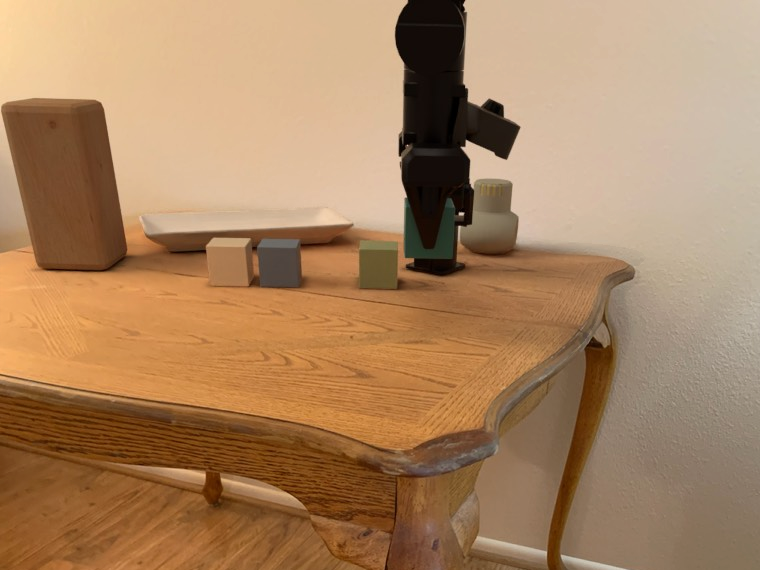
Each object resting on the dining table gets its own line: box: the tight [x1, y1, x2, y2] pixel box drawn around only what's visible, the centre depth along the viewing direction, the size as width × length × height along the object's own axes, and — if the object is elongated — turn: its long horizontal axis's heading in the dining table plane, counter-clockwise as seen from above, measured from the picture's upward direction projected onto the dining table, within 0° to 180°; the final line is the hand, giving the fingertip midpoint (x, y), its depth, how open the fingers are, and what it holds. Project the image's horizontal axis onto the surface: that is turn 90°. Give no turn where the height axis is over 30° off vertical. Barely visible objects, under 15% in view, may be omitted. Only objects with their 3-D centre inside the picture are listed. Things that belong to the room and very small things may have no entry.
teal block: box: [403, 197, 455, 259], centre depth 80 cm, size 5×5×5 cm
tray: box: [138, 206, 355, 253], centre depth 122 cm, size 17×31×4 cm, turn 110°
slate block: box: [256, 239, 303, 288], centre depth 101 cm, size 5×5×5 cm
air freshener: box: [459, 178, 519, 255], centre depth 118 cm, size 11×8×10 cm
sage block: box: [358, 240, 399, 290], centre depth 101 cm, size 5×5×5 cm
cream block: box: [205, 238, 255, 287], centre depth 101 cm, size 5×5×5 cm
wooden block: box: [0, 97, 128, 271], centre depth 103 cm, size 10×10×20 cm
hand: (427, 242), depth 81 cm, fingers closed on teal block, 5 cm apart
